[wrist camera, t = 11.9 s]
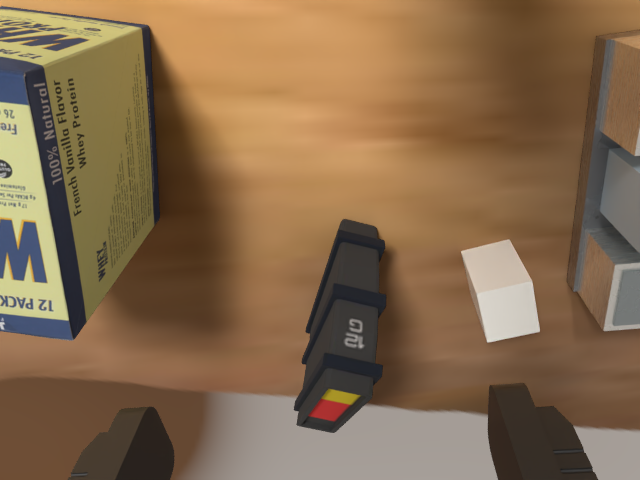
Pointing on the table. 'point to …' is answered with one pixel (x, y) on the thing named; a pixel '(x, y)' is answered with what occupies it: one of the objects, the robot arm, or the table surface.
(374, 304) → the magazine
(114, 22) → the protein box
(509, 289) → the block
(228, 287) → the table surface
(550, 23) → the table surface
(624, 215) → the block
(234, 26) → the table surface
